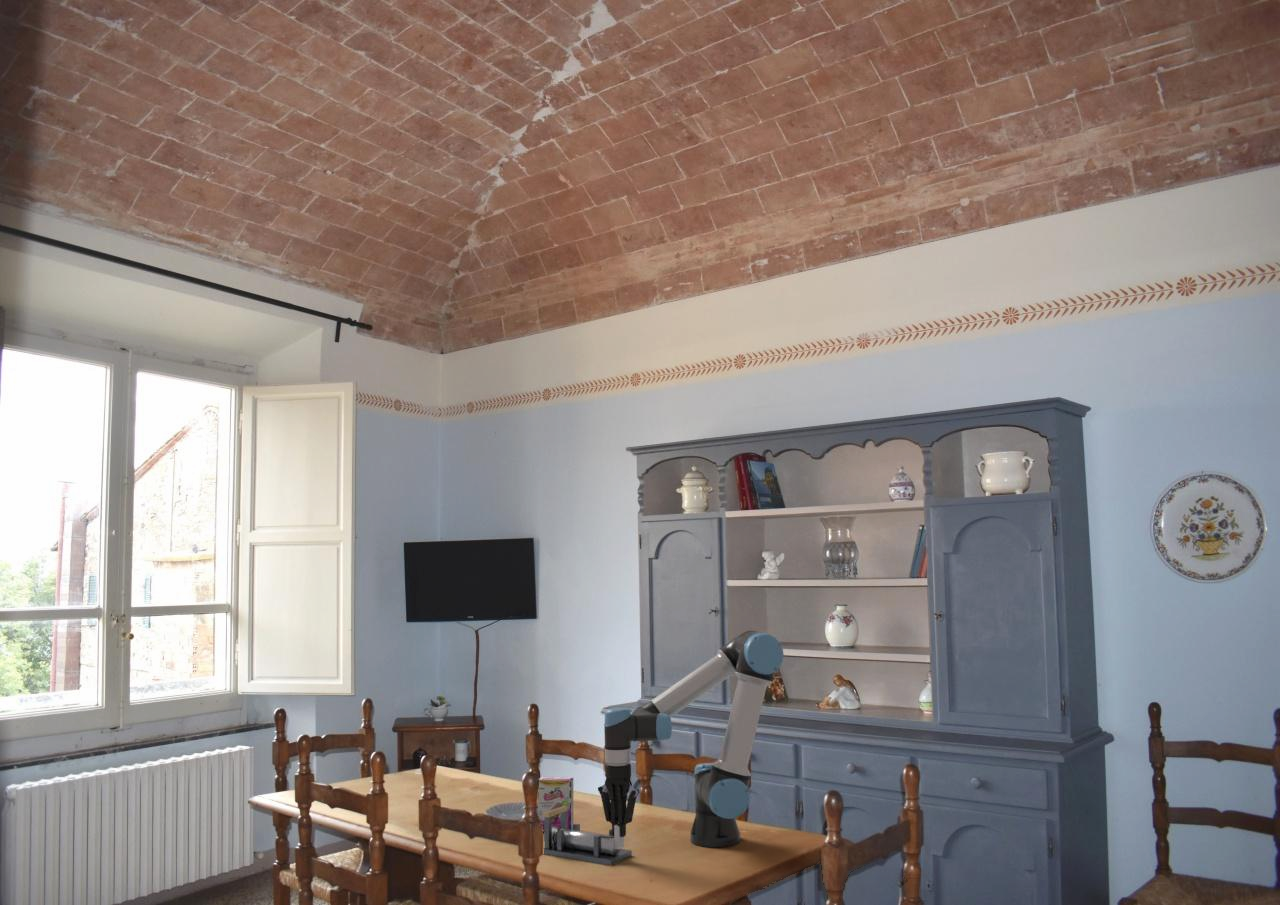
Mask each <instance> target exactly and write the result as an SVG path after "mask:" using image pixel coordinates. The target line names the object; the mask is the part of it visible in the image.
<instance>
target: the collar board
mask: <svg viewBox="0 0 1280 905" xmlns="http://www.w3.org/2000/svg"><path fill="white" fill-rule="evenodd" d="M559 813H561V828H564V829H568V807H567V806H562V807H559V808H556V809H553V810H550V811H548V812H545V813H544V818H545V842H544V848H543V849H544V854H543V855H545V856H550V855H552V857H556V856H557V858H562V857H563V859H568V858H569V860H576V861H580V862H581V861H582V862H585V863H586V862H587V863H592V864H598V865H603V866H604V865H605V866H610V865H611V866H613V865H615V864H617V862H618V863H619V862H621V861H624V860H626V859H627V858H630V857H632V856H633V855H632V854H633V852H632V850H630V849H623V848H621V849H620V851H619V853H618V854H617V855H610V854H604V853H601V836H599V835H596V836H594V852H592V851H586V850H580V849H573V848H567V847H564V830H558V831H557V846H555V845H552V816H554V815H557V814H559ZM573 830H576V831H581V824H579V823H574V825H573ZM608 835H609V836H613V835H612V828H611V829H609V830H608Z"/></svg>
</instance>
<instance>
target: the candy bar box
mask: <svg viewBox="0 0 1280 905" xmlns="http://www.w3.org/2000/svg"><path fill="white" fill-rule="evenodd" d="M538 779H539V789H538V815H539V819H540V821H541V824H542V826H543V830H544V832H545V818H544V813H545V812H548V811H550V810H553V809H556V808H559V807H562V806H567V807H568V829H570V830H573V825H574V824H575V823H574V777H572V776H571V777H570V776H569V777H568V776H565V777H564V776H562V777H561V776H559V777H558V776H540V777H539V778H538ZM552 827H556V828H561V813H559V814H557V815H554V816H552ZM544 832H543V833H544Z"/></svg>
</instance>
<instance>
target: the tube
mask: <svg viewBox="0 0 1280 905" xmlns="http://www.w3.org/2000/svg"><path fill="white" fill-rule="evenodd" d="M558 830H564V847H567V848H573V849H580V850H586V851H592V852H594V836H596V835H599V836H601V853H604V854H610V855H617V854H618V853H619V851H620V849H615V838H614V836H609V834H608V835H607V834H604V833H603V834H601V833H596V832H590V831H581V830H580V831H576V830H570V829H564V828H556V827H552V845H555V846H557V831H558ZM543 842H544V843H545V832H543Z"/></svg>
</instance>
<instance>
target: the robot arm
mask: <svg viewBox="0 0 1280 905" xmlns="http://www.w3.org/2000/svg"><path fill="white" fill-rule="evenodd" d="M784 653H785V652H784V649H783V646H782V644H781V642H780V641H779V640H778V638H776V637H775V636H774V635H772V634H770V633H768V632H761V631H757V630H746V631H743V632H741V633H739V634H738V635H737V636H735V637H734V638H732V639H731V640H730V641H729V642H727V643H725V645H723V646H722V647H720V648H719V649H718V650H717V653H716V655H714V656H713V657H712V658H710V659H709V660H708V661H706V662H705V663H703V664H702V665H700V666H699V667H698V668H695V669H694V670H693V671H692V672H690V673H688V674H687V675H686V676H684V677H683V678H682V679H680V680H679V681H677V682H676V683H674V684H673V685H672V686H670V687H668V688H667V689H666V690H664V691H663V692H661V693H660V694H659V695H657V696H655V697H654V698H653V699H651V700H650V701H649V702H647V703H645V704H644V705H641V706H637V707H635V708H634V709H633V710H632V711H631V710H630V708H627V707H610V708H608V709H606V711H605V712H604V724H603V726H604V729H603V730H604V762H605V765H604V776H605V781H604V784H603V785H601V786H598V787H597V791H598V793H599V795H600V797H601V803H602V807H603V812H604V818H605V820H606V822H609V823H610V824H611V829H612V835H613V836H614V838H615V849H623V848H625V839H624V838H625V837H626V836H627V824H628V825H629V824H630V823H632V822H633V818H634V813H635V806H636V801H637V797H638V795H639V793H640V790H639V789H638V788H635V787H634V786H633V783H632V779H631V777H632V764H631V759H632V758H631V757H632V755H631V752H632V751H631V750H632V749H631V747H632V746H631V743H632V742H650V741H652V742H653V741H655V742H656V741H658V742H661V741H667V740H670V739H671V737H672V733H673V728H672V726H673V724H672V718H673V716H675V715H676V714H678V713H679V712H680V711H681V712H682V710H683V709H685V708H686V707H688V706H689V705H691V704H692V703H693V702H695V701H696V700H698V699H700V698H701V697H702V696H704V695H706V693H708V692H709V691H711V690H712V689H713V688H715V687H716V686H718V685H720V684H721V683H722V682H724V681H726V680H727V679H728V678H730V677H731V676H732V677H733V676H734V677H737V679H738V680H737V684H736V687H735V693H734V696H733V701H732V704H731V708H730V712H729V716H728V717H729V718H728V721H727V726H726V729H725V733H724V737H723V742H722V745H721V750H720V753H719V758H718V760H716V761H715V762H705V763H698V764H696V765H695V767H694V773H693V775H694V793H695V794H694V796H695V798H694V801H695V804H694V805H695V816H694V820H693V823H692V825H691V826H692V827H691V830H690V842H691V843H692V844H694V845H696V846H700V847H705V848H725V847H732V846H735V845H737V844H739V843H740V842H741V831H740V830H739V826H738V823H737V819H736V818H739V817H740V816H742V815H743V814H744V813H745V812H746V811H747V809H748V808H749V805H750V802H751V795H750V794H751V793H750V790H749V785H750V781H751V776H752V774H751V772H750V770H749V767H748V766H749V762H750V757H751V754H752V750H753V744H754V741H755V736H756V732H757V729H758V724H759V721H760V715H761V711H762V708H763V704H764V700H765V699H764V698H765V694H766V691H767V687H768V686H770V685H771V684H773V683H774V680H775V675H776V672H777V671H778V670H779V669H780V667H781V666H782V664H783V662H784V657H785V656H784Z"/></svg>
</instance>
